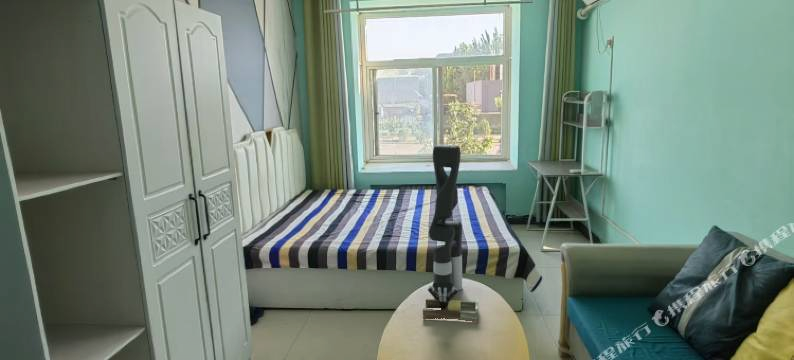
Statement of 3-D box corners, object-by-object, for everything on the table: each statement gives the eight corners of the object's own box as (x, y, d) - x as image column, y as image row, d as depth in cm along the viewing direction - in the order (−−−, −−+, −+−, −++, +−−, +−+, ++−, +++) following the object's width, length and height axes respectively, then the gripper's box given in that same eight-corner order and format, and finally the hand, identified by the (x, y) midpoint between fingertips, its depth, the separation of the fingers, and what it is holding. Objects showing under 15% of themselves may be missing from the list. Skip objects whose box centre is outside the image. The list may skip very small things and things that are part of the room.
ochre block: (449, 308, 195) (449, 299, 194) (461, 309, 194) (460, 300, 193) (448, 314, 190) (448, 305, 190) (460, 314, 189) (460, 306, 189)
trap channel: (426, 308, 200) (425, 295, 199) (478, 311, 196) (478, 298, 195) (423, 319, 191) (422, 306, 189) (477, 323, 186) (477, 309, 185)
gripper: (459, 267, 192) (459, 305, 195) (428, 266, 194) (429, 303, 198) (457, 275, 184) (458, 314, 188) (425, 273, 187) (426, 312, 191)
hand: (443, 308), depth 193 cm, fingers closed
